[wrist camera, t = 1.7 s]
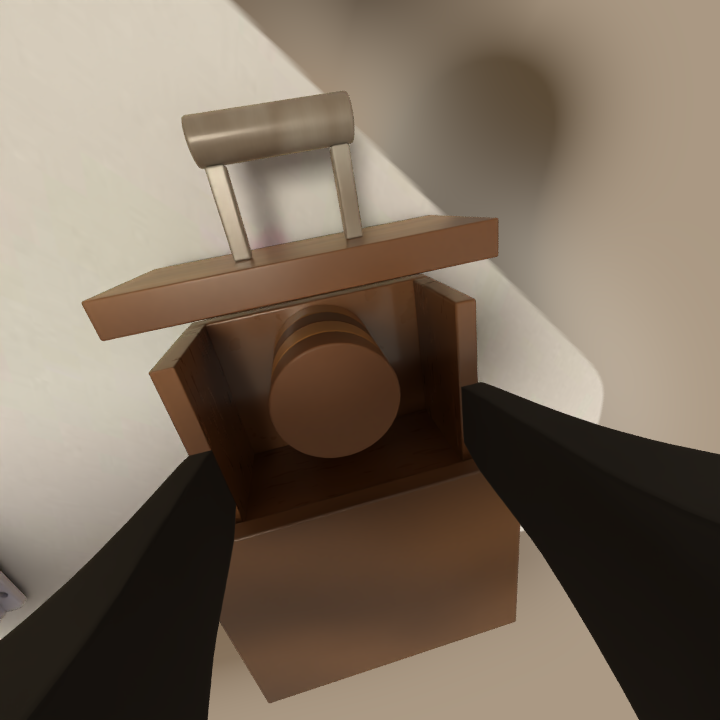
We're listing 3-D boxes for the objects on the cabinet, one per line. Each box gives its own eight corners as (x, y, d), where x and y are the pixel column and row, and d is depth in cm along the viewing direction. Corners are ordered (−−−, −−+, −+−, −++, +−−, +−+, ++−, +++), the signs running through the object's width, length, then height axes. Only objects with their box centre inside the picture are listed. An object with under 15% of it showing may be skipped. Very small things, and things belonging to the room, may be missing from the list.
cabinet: (217, 433, 19) (178, 556, 12) (446, 376, 21) (524, 458, 14) (274, 564, 24) (268, 704, 17) (455, 511, 26) (516, 622, 19)
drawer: (105, 153, 13) (-21, 114, 8) (421, 102, 14) (500, 38, 9) (233, 458, 19) (213, 552, 14) (444, 404, 20) (497, 471, 15)
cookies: (377, 381, 18) (407, 440, 13) (288, 403, 17) (288, 472, 13) (362, 294, 16) (392, 328, 11) (261, 316, 15) (250, 361, 11)
